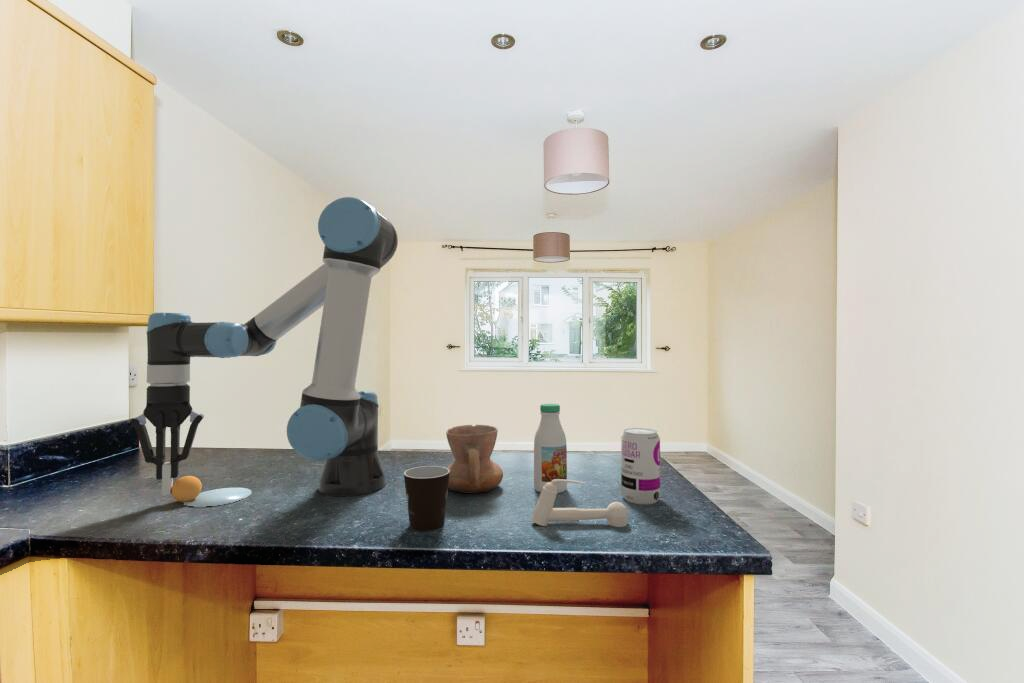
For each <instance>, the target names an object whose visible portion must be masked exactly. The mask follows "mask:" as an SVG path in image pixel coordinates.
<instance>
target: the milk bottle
mask: <svg viewBox="0 0 1024 683" xmlns="http://www.w3.org/2000/svg"><path fill="white" fill-rule="evenodd" d="M539 407H540V408H539V409H540V415H541V416H540V422H539V425H538V427H537V429H536V431H535V434H534V440H533V487H534V490H535V491H536V492H538V493H541V491H542V488H543V486H544V485H545V484H546V483H548V482H551V481H552V480H554V479H564V480H568V476H567V475H568V460H567V458H568V455H567V454H568V451H567V437H566V433H565V431H564V429H563V427H562V424H561V420H560V413H561V412H560V411H561V406H560V404H558V403H542V404H540V406H539ZM555 485H556V487H557V494H561V493H562V494H563V493H564V492H566V490H567V488H568V482H561V483H556V484H555Z"/></svg>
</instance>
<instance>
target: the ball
mask: <svg viewBox="0 0 1024 683" xmlns="http://www.w3.org/2000/svg"><path fill="white" fill-rule="evenodd" d="M202 487H203V484H202V482H201V480H200V479H199V478H198V477H196V476H194V475H185V476H182V477H179V478H178V479H177V480H175V482H173V486H172V489H171V496H172V498H173V499H174V500H175V501H177V502H181V503H183V502H188V501H191V500H193V499H195V498H196V497H197V496H198V495H199V494H200V493H201V492H202V489H203V488H202Z"/></svg>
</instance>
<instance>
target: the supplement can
mask: <svg viewBox="0 0 1024 683" xmlns="http://www.w3.org/2000/svg"><path fill="white" fill-rule="evenodd" d="M659 436H660V435H659V434H658V431H657V430H656V429H651V428H643V427H635V428H634V427H630V428H625V429H624V430H623V433H622V435H621V436H620V450H621V451H620V456H621V457H620V458H621V460H620V462H621V464H620V468H621V470H620V472H621V473H620V474H621V476H620V477H621V478H620V479H621V480H620V481H621V482H620V483H621V484H620V486H621V488H620V489H621V490H620V491H621V497H622V498H624V500H625V501H627V502H628V503H632V504H636V505H643V506H644V505H653V504H656V503H657V502H658V501H659V500H660V499H661V438H660V437H659Z"/></svg>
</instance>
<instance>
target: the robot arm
mask: <svg viewBox="0 0 1024 683" xmlns="http://www.w3.org/2000/svg"><path fill="white" fill-rule="evenodd" d="M317 230H318V235H319V237H320V240H321V241H322V243H323V244H324V247H323V248H324V249H323V256H322V262H323V264H322V265H321V266H319V267H317V268H316V269H315V270H313V271H312V272H311V273H310V274H308V276H306V277H304V278H303V279H301V281H299V282H297V284H295V285H294V286H293V287H291V288H290V289H289V290H288V291H286V292H285V293H283V294H282V295H281V296H280V297H278V298H277V299H275V300H274V301H273V302H272V303H270V304H269V305H268V306H267V307H265V308H264V309H262V310H261V311H260V312H259V313H257V314H256V315H255V316H253V317H252V318H251V319H249V320H248V321H246V322H245V323H244V324H243V323H241V324H240V323H238V322H229V321H218V322H214V321H212V322H193V321H192V320H191V319H192V318H191V315H190V314H188V313H184V312H153V313H151V314H150V315H149V316H148V321H147V329H146V339H147V340H146V343H147V345H146V346H147V347H146V348H147V361H146V362H147V363H146V383H147V384H149V385H148V386H147V387H146V405H145V408H144V409H143V413H142V414H139V416H137V417H134V418H132V419H130V420H129V423H130V425H131V426H132V427H133V429H134V430H135V431H136V434H137V438H138V441H139V445H140V448H141V451H142V455H143V458H144V461H145V463H146V464H154V465H155V469H156V470H155V471H156V472H155V476H156V477H155V479H156V480H161V496H162V497H165V496H170V495H172V493H171V489H172V486H173V484H174V481H173V480H174V479H176V478H178V477H179V475H180V462H182V461H184V460H187V459H188V458H189V456H190V454H191V451H192V447H193V443H194V440H195V436H196V434H197V432H198V431H197V430H198V427H199V424H200V423H201V422H202V421H203V419H204V417H205V415H204V414H202V413H198V412H196V411H194V410H193V407H192V406H191V402H190V401H191V400H190V399H191V398H190V397H191V396H190V395H191V392H190V391H191V387H190V385H189V384H187V383H189V382H190V381H191V358H195V357H197V358H219V359H225V358H226V359H228V358H229V359H230V358H238V357H259V356H262V355H263V356H264V355H267V354H269V353H271V352H272V351H273V350H275V346H276V345H277V341H278V340H279V339H280V338H282V337H283V336H284V335H286V334H287V333H289V332H290V331H291V330H293V329H294V328H296V326H298V325H299V324H301V323H302V322H303V321H305V320H306V319H308V318H309V317H310V316H311V315H313V314H314V313H315V312H317V311H318V310H319V309H321V308H322V307H323V308H322V313H321V314H322V315H321V320H320V326H319V333H318V341H317V347H316V353H315V361H314V364H313V365H314V366H313V372H312V379H311V383H310V384H309V385H308V386H307V387H305V388H304V389H303V390H302V391H301V398H300V404H299V406H300V407H298V408H297V409H296V410H295V411H294V412H293V413H292V414H291V415H290V417H289V420H288V421H287V425H286V437H287V440H288V443H289V445H290V447H291V448H292V449H293V450H294V451H295V453H296V454H297V455H298V456H300V457H302V458H304V459H306V460H308V461H313V462H321V461H324V465H323V467H322V471H321V473H320V476H319V480H318V492H319V493H321V494H322V495H326V496H330V497H331V496H332V497H349V496H350V497H351V496H359V495H365V494H369V493H372V492H375V491H379V490H380V489H382V488H383V487H385V485H386V473H385V471H384V467H383V465H382V461H381V458H380V456H379V452H378V450H379V448H378V447H379V446H378V443H379V442H378V441H379V426H378V425H379V408H380V407H379V403H378V395H377V393H376V392H374V391H364V390H363V391H362V390H357V389H356V382H357V375H358V368H359V363H360V355H361V349H362V343H363V336H364V335H363V334H364V330H365V321H366V315H367V309H368V303H369V297H370V296H369V295H370V290H371V285H372V284H371V283H372V278H373V277H374V276H375V275H377V274H379V273H380V271H381V268H382V267H384V266H386V265H387V263H389V262H390V260H391V259H392V258H393V257H394V255H395V253H396V251H397V248H398V239H399V237H398V233H397V231H396V228H395V227H394V225H393V223H392V222H391V221H390V220H389V219H387V218H386V216H383V214H381V213H380V212H379V211H378V210H377V209H376V208H375V207H374V206H373V205H372V204H370V203H368V202H366V201H364V200H362V199H360V198H357V197H353V196H352V197H351V196H345V197H339V198H337V199H335V200H333V201H332V202H330V203H328V204H327V205H326V206H325V207H324V209H323V210H322V211H321V213H320V215H319V218H318V223H317ZM188 417H190V418H189V421H190V423H191V424H190V425H189V428H188V432H187V435H186V438H185V442H184V446H183V449H182V451H181V453H180V444H181V443H180V440H181V439H180V438H181V437H180V436H181V435H180V434H181V433H180V432H181V425H183V423H184V422H185V421H186V420H187V419H188ZM147 420H148V421H149V422H150V423H151V424H152V425H153V426H154V427H155V453H154V448H153V446H152V441H151V439H150V436H149V432H148V430H147V426H146V424H147ZM167 428H170V461H166V460H167V458H166V431H167ZM165 461H166V462H165Z"/></svg>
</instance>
